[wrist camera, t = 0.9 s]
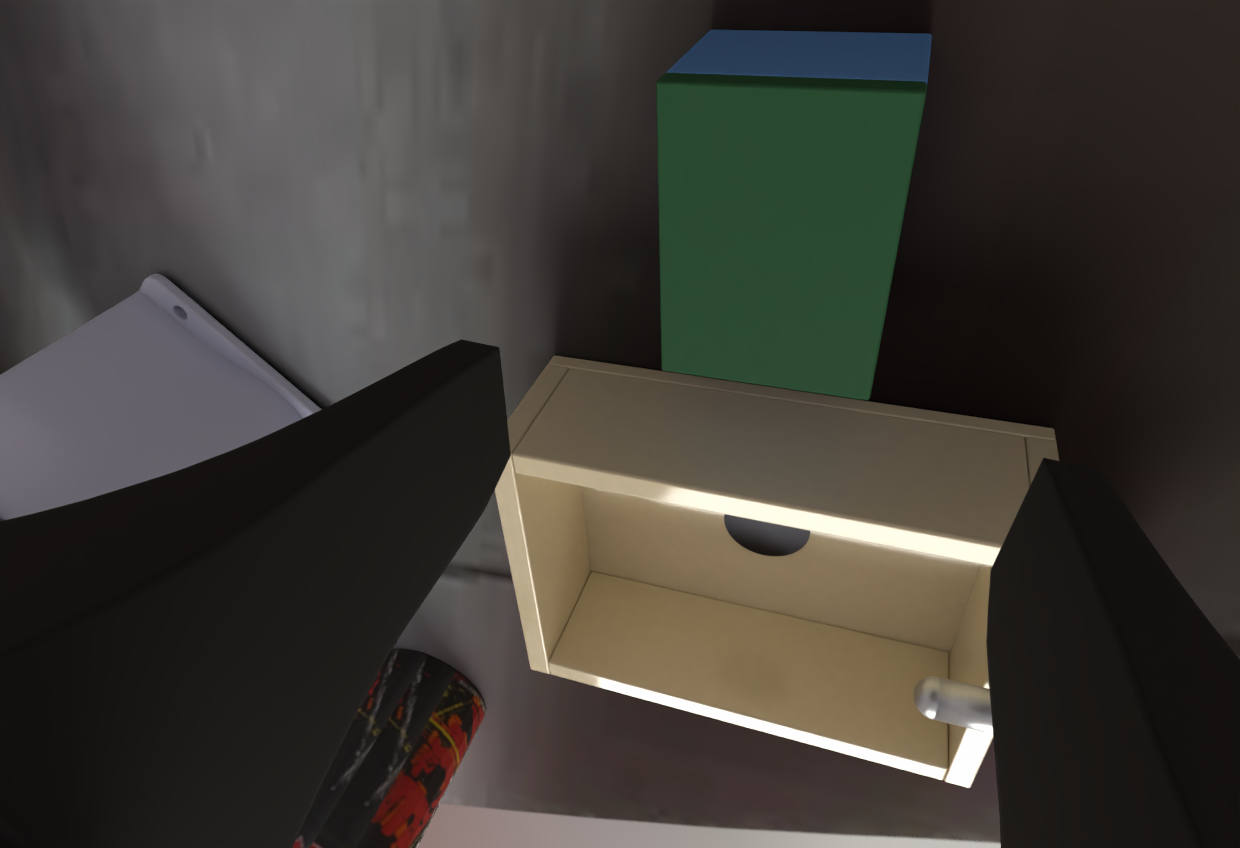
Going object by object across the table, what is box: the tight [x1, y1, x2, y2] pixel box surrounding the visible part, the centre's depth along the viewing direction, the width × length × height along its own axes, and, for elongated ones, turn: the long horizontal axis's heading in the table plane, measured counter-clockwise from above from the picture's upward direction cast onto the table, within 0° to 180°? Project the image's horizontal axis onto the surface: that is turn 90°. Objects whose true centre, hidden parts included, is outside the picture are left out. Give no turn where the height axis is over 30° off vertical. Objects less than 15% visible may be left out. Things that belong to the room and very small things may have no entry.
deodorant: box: [292, 649, 485, 848], centre depth 33 cm, size 6×6×15 cm
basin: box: [495, 355, 1059, 788], centre depth 22 cm, size 13×9×4 cm
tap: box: [724, 514, 993, 734], centre depth 20 cm, size 11×3×7 cm, turn 93°
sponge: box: [656, 30, 932, 400], centre depth 16 cm, size 6×4×4 cm
